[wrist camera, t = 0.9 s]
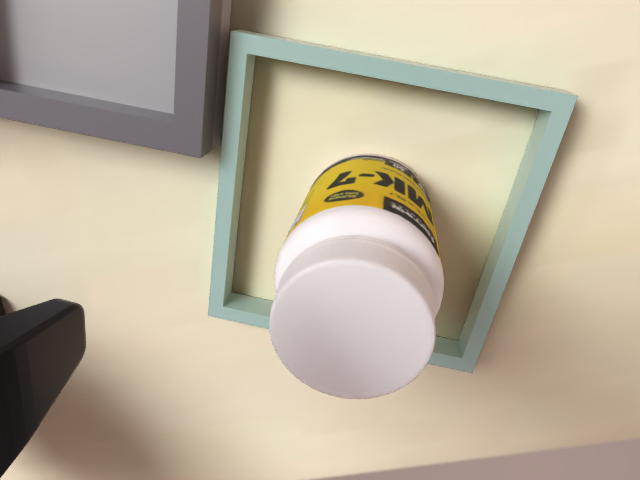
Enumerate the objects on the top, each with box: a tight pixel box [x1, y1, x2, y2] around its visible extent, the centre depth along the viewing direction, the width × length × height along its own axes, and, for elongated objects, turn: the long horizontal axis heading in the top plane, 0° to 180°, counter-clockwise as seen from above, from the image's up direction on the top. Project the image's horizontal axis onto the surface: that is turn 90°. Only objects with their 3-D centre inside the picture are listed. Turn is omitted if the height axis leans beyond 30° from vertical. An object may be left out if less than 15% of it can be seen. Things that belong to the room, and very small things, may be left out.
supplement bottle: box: [269, 154, 444, 399], centre depth 15 cm, size 5×5×8 cm
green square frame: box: [208, 30, 578, 373], centre depth 19 cm, size 11×11×1 cm
